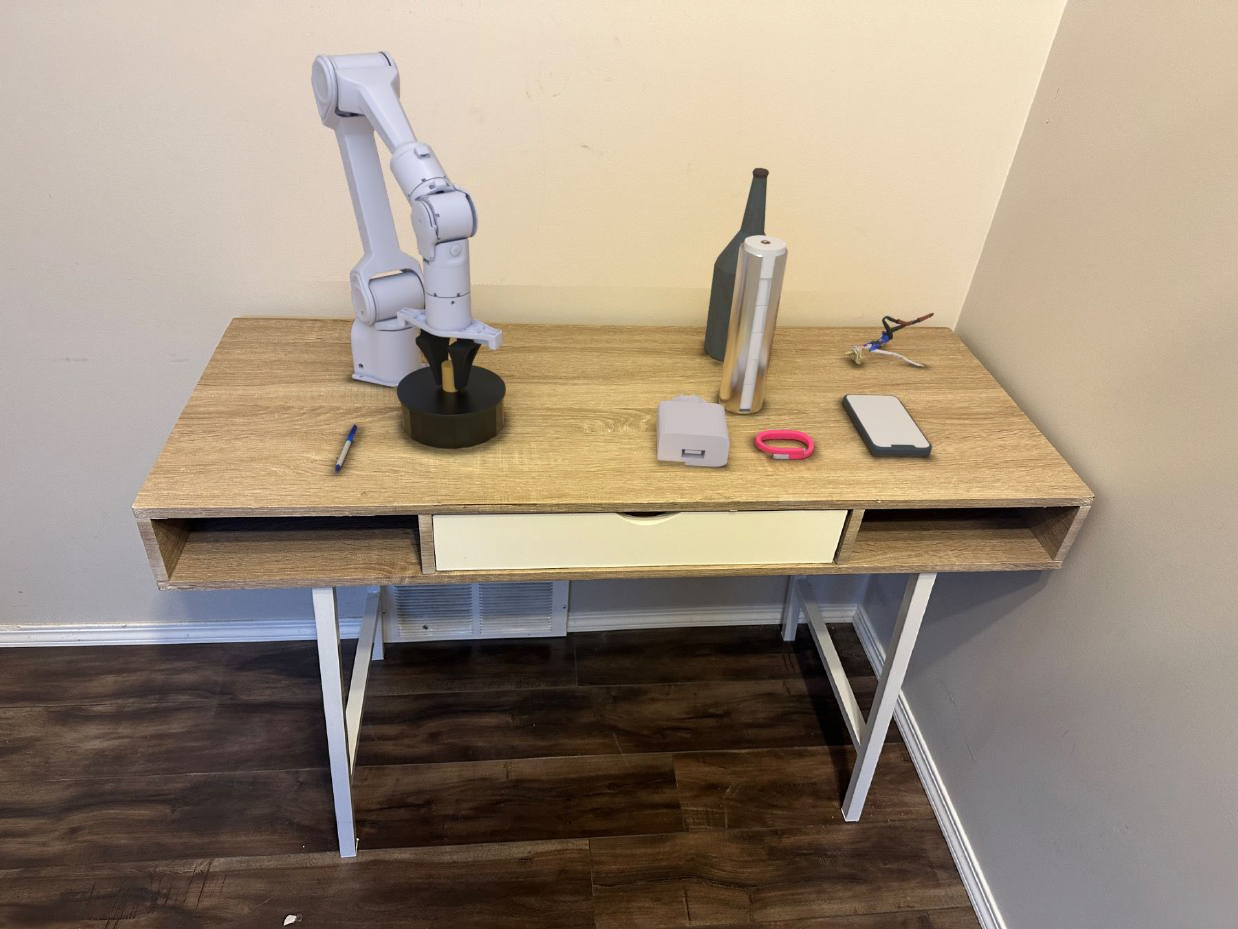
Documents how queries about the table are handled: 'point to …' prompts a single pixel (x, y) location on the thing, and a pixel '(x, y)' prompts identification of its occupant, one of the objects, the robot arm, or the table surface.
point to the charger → (692, 431)
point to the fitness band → (785, 452)
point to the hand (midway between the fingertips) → (452, 384)
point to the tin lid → (450, 392)
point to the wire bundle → (884, 340)
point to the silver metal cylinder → (752, 323)
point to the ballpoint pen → (346, 447)
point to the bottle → (733, 267)
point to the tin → (453, 428)
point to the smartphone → (886, 425)
